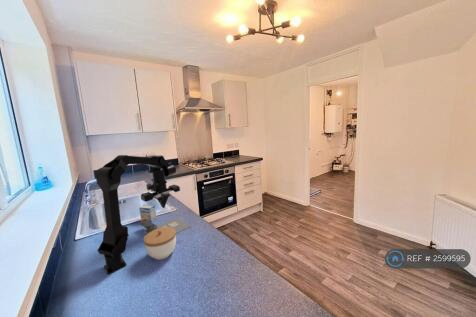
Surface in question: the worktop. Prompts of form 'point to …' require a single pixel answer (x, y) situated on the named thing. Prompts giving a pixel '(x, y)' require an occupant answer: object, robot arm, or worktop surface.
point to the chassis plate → (173, 225)
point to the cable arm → (148, 224)
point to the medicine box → (148, 212)
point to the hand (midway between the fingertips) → (163, 207)
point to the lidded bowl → (160, 242)
